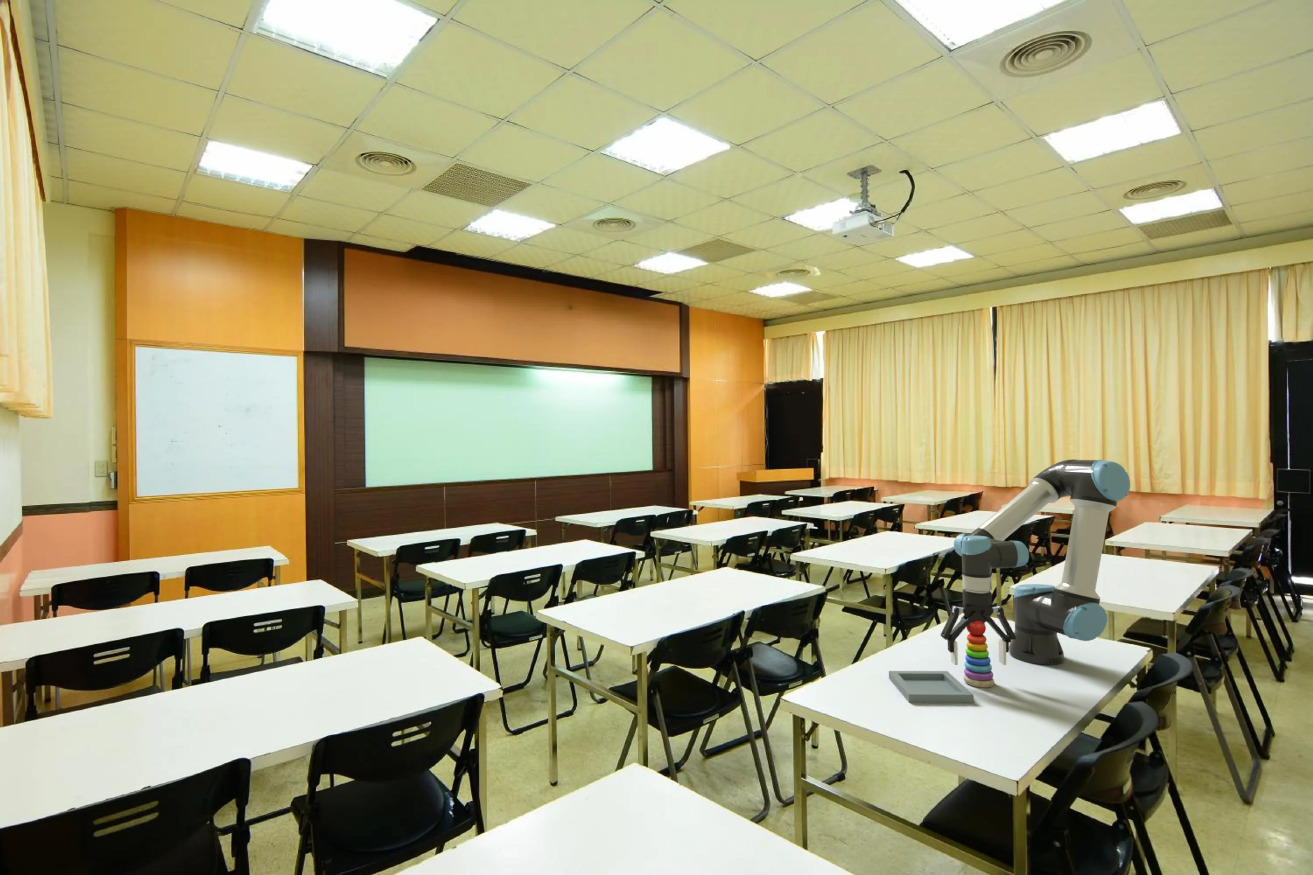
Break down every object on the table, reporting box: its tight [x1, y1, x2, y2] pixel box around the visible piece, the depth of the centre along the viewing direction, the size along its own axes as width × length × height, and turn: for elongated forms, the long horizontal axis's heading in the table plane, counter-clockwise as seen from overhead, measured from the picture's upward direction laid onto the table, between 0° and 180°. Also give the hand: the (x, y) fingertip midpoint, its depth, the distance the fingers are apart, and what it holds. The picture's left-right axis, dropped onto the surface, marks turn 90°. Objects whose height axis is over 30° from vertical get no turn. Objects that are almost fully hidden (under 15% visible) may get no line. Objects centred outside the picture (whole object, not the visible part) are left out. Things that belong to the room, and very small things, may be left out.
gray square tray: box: [888, 670, 975, 704], centre depth 175 cm, size 17×17×2 cm
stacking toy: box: [963, 621, 995, 689], centre depth 179 cm, size 8×8×19 cm
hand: (978, 663), depth 179 cm, fingers open, 13 cm apart
